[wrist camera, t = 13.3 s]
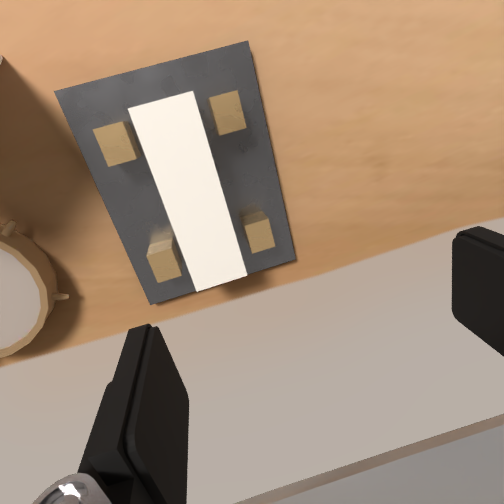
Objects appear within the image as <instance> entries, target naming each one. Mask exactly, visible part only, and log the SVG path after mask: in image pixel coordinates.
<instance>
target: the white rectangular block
mask: <svg viewBox="0 0 504 504" xmlns="http://www.w3.org/2000/svg"><path fill="white" fill-rule="evenodd" d="M128 111H129V114H130V116H131V119H132V122H133V124H134V127H135V130H136V132H137V135H138V138H139V140H140V143H141V145H142V148H143V151H144V153H145V156H146V159H147V161H148V164H149V167H150V169H151V172H152V175H153V177H154V180H155V183H156V185H157V188H158V191H159V193H160V196H161V198H162V201H163V204H164V206H165V209H166V212H167V214H168V217H169V220H170V222H171V225H172V228H173V230H174V233H175V236H176V238H177V241H178V244H179V246H180V249H181V251H182V254H183V257H184V259H185V262H186V265H187V267H188V270H189V273H190V275H191V278H192V281H193V283H194V286H195V289H196V291H197V292H198V291H201V290H204V289H207V288H210V287H213V286H216V285H219V284H223V283H226V282H229V281H232V280H235V279H238V278H241V277H244V276H247V272H246V269H245V265H244V262H243V259H242V255H241V252H240V248H239V245H238V242H237V238H236V235H235V232H234V228H233V225H232V221H231V218H230V215H229V211H228V208H227V204H226V201H225V198H224V194H223V191H222V188H221V184H220V181H219V177H218V174H217V171H216V167H215V164H214V160H213V157H212V154H211V150H210V147H209V144H208V140H207V137H206V133H205V130H204V127H203V123H202V120H201V116H200V113H199V110H198V106H197V103H196V100H195V96H194V93H193V91H190V92H186V93H183V94H179V95H175V96H172V97H168V98H165V99H161V100H157V101H154V102H150V103H146V104H143V105H139V106H135V107H132V108H128Z"/></svg>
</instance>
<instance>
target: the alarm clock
mask: <svg viewBox="0 0 504 504" xmlns="http://www.w3.org/2000/svg"><path fill="white" fill-rule="evenodd" d="M16 223H17V222H16V221H14V220H11V221H10V222H9V223H8V224H7V225H3V224H0V358H2V357H5V356H9V355H12V354H13V353H15V352H16V351H18V350H19V349H21V348H23V347H24V346H26V345H27V344H29V343H30V342H31V341H32V340H33V338H34V337H35V336H36V335H37V333H38V332H39V331H40V330H41V328H42V327H43V326H44V323H45V321H46V319H47V317H48V316H49V314H50V313H51V312H52V310H53V309H54V305H55V302H56V300H65V299H69V294H64V293H58V284H57V275H56V272H55V270H54V268H53V266H52V264H51V262H50V260H49V258H48V256H47V255H46V254H45V253H44V252H43V251H42V250H41V249H40V248H39V247H38V246H37V245H36V244H35V243H34V242H33V241H32V240H31V239H30V238H28V237H26V236H25V235H23V234H21V233H20V232H18V231H16V230H15V226H16Z"/></svg>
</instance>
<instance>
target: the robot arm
mask: <svg viewBox="0 0 504 504" xmlns="http://www.w3.org/2000/svg"><path fill="white" fill-rule="evenodd" d="M452 312H453V315H454V317H455V318H456V319H457V320H458V321H459V322H460V323H462V324H463V325H464V326H465V327H466V328H468V329H469V330H471V331H472V332H473V333H474V334H476V335H477V336H478V337H479V338H481V339H482V340H483V341H484V342H486V343H487V344H488V345H490V346H491V347H492V348H493V349H495V350H496V351H497V352H499V353H500V354H501V355H502V356H504V235H502V234H499V233H497V232H494V231H492V230H489V229H486V228H484V227H480V226H477V227H473V228H470V229H467V230H463V231H460V232H459V233H457V236H456V238H454V239H453V242H452ZM188 423H189V398H188V394H187V391H186V388H185V386H184V384H183V382H182V379H181V377H180V375H179V373H178V370H177V368H176V366H175V363H174V361H173V359H172V357H171V354H170V352H169V350H168V348H167V345H166V343H165V341H164V338H163V336H162V334H161V332H160V330H159V328H158V327H157V326H156V327H152V326H151V325H150V324H145V325H142V326H139V327H135V328H132V329H129V331H128V334H127V337H126V340H125V343H124V346H123V349H122V352H121V356H120V359H119V362H118V365H117V368H116V371H115V374H114V378H113V380H112V382H110V383H109V384H108V385H107V387H106V389H105V392H104V395H103V398H102V401H101V404H100V407H99V410H98V413H97V416H96V419H95V422H94V425H93V428H92V431H91V433H90V436H89V440H88V442H87V445H86V448H85V451H84V454H83V457H82V460H81V463H80V466H79V469H78V472H77V474H72V475H68V476H66V477H64V478H62V479H60V480H58V481H57V482H55V483H54V484H53V485H51V486H50V487H49V488H47V489H46V490H45V491H44V492H43V493H42V494H41V495H40V496H39V497H38V498H37V499H36V500H35V501H34V502H33V504H186V496H187V462H188V426H189V424H188ZM235 504H504V414H502V415H499V416H496V417H493V418H490V419H486V420H483V421H480V422H477V423H474V424H471V425H468V426H465V427H462V428H459V429H456V430H453V431H450V432H447V433H443V434H441V435H437V436H434V437H431V438H429V439H425V440H422V441H419V442H416V443H413V444H410V445H407V446H404V447H401V448H398V449H395V450H392V451H389V452H385V453H382V454H379V455H376V456H374V457H370V458H367V459H364V460H361V461H358V462H355V463H352V464H349V465H347V466H343V467H340V468H337V469H334V470H332V471H329V472H325V473H322V474H319V475H316V476H313V477H310V478H307V479H304V480H301V481H298V482H295V483H292V484H289V485H286V486H283V487H280V488H277V489H274V490H271V491H269V492H266V493H263V494H260V495H257V496H254V497H251V498H249V499H246V500H243V501H240V502H237V503H235Z"/></svg>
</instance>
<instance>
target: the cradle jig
mask: <svg viewBox="0 0 504 504" xmlns="http://www.w3.org/2000/svg"><path fill="white" fill-rule="evenodd" d="M190 91H193V93H194V96H195V100H196V103H197V106H198V110H199V113H200V116H201V120H202V123H203V127H204V130H205V133H206V137H207V140H208V144H209V147H210V150H211V154H212V157H213V160H214V164H215V167H216V171H217V174H218V177H219V181H220V184H221V188H222V191H223V194H224V198H225V201H226V204H227V208H228V211H229V215H230V218H231V221H232V225H233V228H234V232H235V235H236V238H237V242H238V245H239V248H240V252H241V255H242V259H243V262H244V265H245V269H246V272H247V274H250V273H254V272H257V271H260V270H263V269H266V268H269V267H273V266H276V265H279V264H282V263H285V262H288V261H292V260H295V259H296V258H295V254H294V249H293V245H292V240H291V235H290V231H289V226H288V222H287V217H286V212H285V208H284V203H283V199H282V194H281V190H280V185H279V180H278V176H277V171H276V167H275V162H274V157H273V153H272V148H271V144H270V139H269V134H268V130H267V125H266V121H265V116H264V111H263V107H262V102H261V98H260V93H259V88H258V84H257V79H256V75H255V70H254V66H253V61H252V56H251V52H250V47H249V43H248V41H244V42H240V43H237V44H233V45H229V46H225V47H221V48H218V49H214V50H210V51H206V52H202V53H198V54H195V55H191V56H187V57H183V58H179V59H176V60H172V61H168V62H164V63H160V64H156V65H153V66H149V67H145V68H141V69H137V70H133V71H130V72H126V73H122V74H118V75H114V76H111V77H107V78H103V79H99V80H95V81H91V82H88V83H84V84H80V85H76V86H72V87H69V88H65V89H61V90H57V91H54V93H55V95H56V97H57V99H58V101H59V104H60V106H61V108H62V110H63V113H64V115H65V117H66V119H67V121H68V124H69V126H70V128H71V130H72V132H73V135H74V137H75V139H76V141H77V144H78V146H79V148H80V150H81V152H82V155H83V157H84V159H85V161H86V164H87V166H88V168H89V170H90V172H91V175H92V177H93V179H94V181H95V183H96V186H97V188H98V190H99V192H100V195H101V197H102V199H103V201H104V203H105V206H106V208H107V210H108V212H109V215H110V217H111V219H112V221H113V223H114V226H115V228H116V230H117V232H118V234H119V237H120V239H121V241H122V243H123V246H124V248H125V250H126V252H127V254H128V257H129V259H130V261H131V263H132V266H133V268H134V270H135V272H136V274H137V277H138V279H139V281H140V283H141V285H142V288H143V290H144V292H145V294H146V297H147V299H148V301H149V303H150V305H153V304H156V303H159V302H162V301H165V300H168V299H172V298H175V297H178V296H181V295H184V294H187V293H190V292H194V291H196V289H195V286H194V283H193V281H192V278H191V275H190V273H189V270H188V267H187V265H186V262H185V259H184V257H183V254H182V251H181V249H180V246H179V244H178V241H177V238H176V236H175V233H174V230H173V228H172V225H171V222H170V220H169V217H168V214H167V212H166V209H165V206H164V204H163V201H162V198H161V196H160V193H159V191H158V188H157V185H156V183H155V180H154V177H153V175H152V172H151V169H150V167H149V164H148V161H147V159H146V156H145V153H144V151H143V148H142V145H141V143H140V140H139V138H138V135H137V132H136V130H135V127H134V124H133V122H132V119H131V116H130V114H129V111H128V108H132V107H135V106H139V105H143V104H146V103H150V102H154V101H157V100H161V99H165V98H168V97H172V96H175V95H179V94H183V93H186V92H190Z"/></svg>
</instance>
